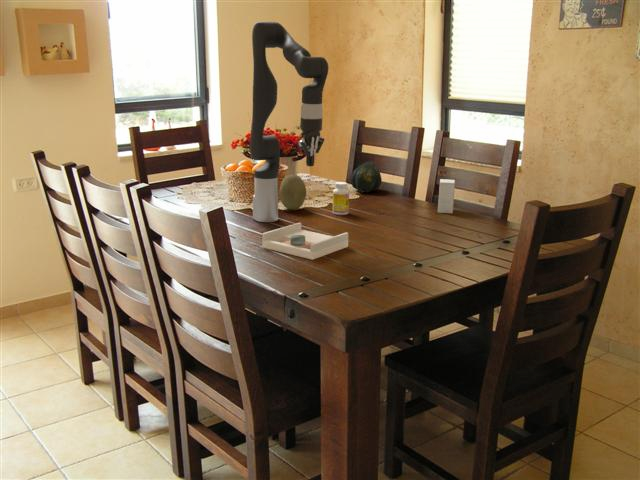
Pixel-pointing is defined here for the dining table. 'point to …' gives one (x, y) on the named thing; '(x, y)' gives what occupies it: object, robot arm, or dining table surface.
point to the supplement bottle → (341, 199)
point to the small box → (446, 196)
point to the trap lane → (313, 245)
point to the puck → (297, 240)
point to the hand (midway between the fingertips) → (310, 165)
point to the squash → (366, 177)
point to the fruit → (292, 192)
